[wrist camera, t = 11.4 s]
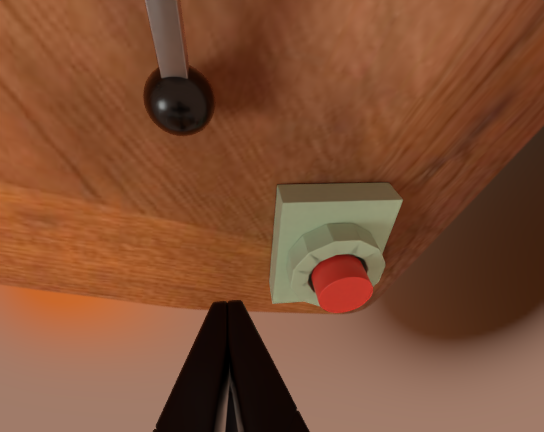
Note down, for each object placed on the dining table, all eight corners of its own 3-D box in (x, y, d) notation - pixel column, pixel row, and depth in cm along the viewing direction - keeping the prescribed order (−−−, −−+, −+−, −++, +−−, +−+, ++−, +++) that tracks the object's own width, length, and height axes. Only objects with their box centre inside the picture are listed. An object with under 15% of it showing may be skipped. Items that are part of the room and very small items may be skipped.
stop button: (355, 287, 22) (365, 310, 21) (307, 290, 22) (314, 315, 20) (367, 252, 20) (380, 275, 19) (315, 254, 20) (323, 279, 18)
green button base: (356, 277, 27) (374, 315, 24) (269, 282, 26) (275, 323, 23) (388, 182, 21) (417, 216, 18) (277, 184, 20) (287, 221, 17)
